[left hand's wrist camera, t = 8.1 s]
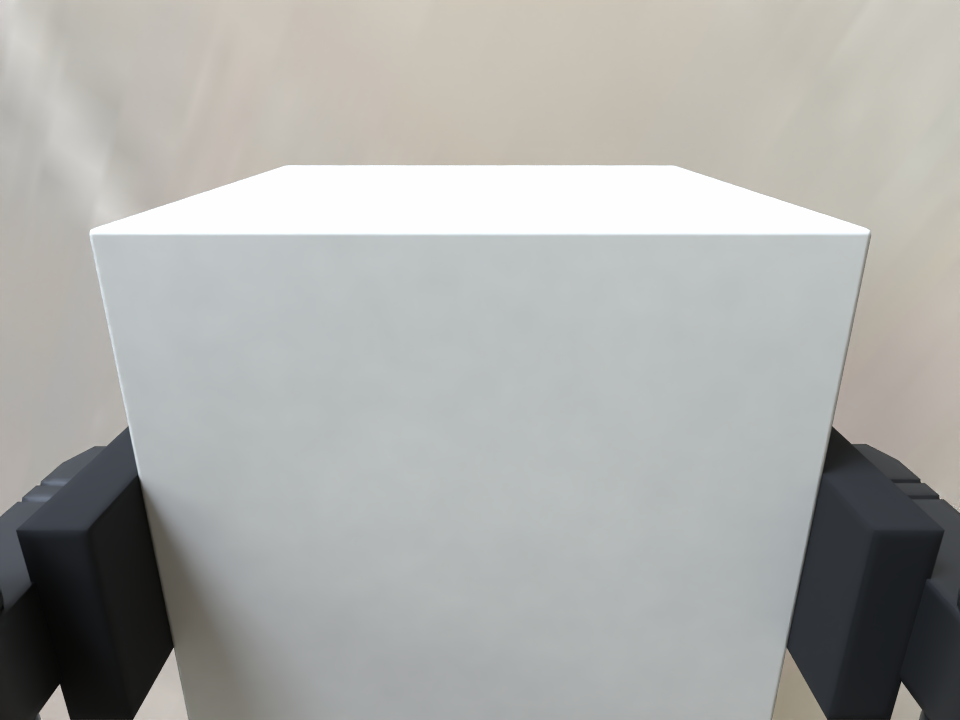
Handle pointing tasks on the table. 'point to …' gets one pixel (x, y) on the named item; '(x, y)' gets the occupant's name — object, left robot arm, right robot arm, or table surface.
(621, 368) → the white box
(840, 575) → the left robot arm
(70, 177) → the table surface
